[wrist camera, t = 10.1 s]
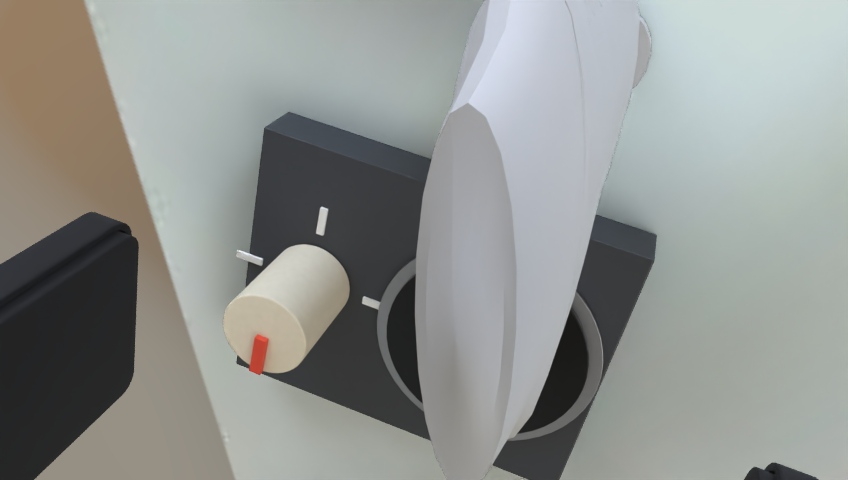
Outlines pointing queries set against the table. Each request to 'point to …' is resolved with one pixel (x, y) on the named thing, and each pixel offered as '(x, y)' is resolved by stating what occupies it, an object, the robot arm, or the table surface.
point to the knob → (286, 309)
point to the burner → (565, 382)
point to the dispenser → (515, 210)
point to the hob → (386, 254)
